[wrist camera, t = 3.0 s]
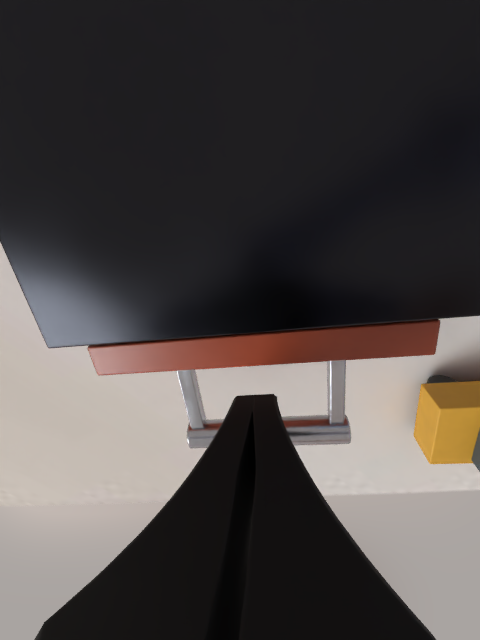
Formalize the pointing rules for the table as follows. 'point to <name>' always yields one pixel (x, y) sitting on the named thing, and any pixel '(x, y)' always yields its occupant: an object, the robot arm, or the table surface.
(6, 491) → the table surface
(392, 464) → the table surface
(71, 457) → the table surface
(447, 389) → the yellow and grey block
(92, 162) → the drawer cabinet
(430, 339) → the cabinet drawer
